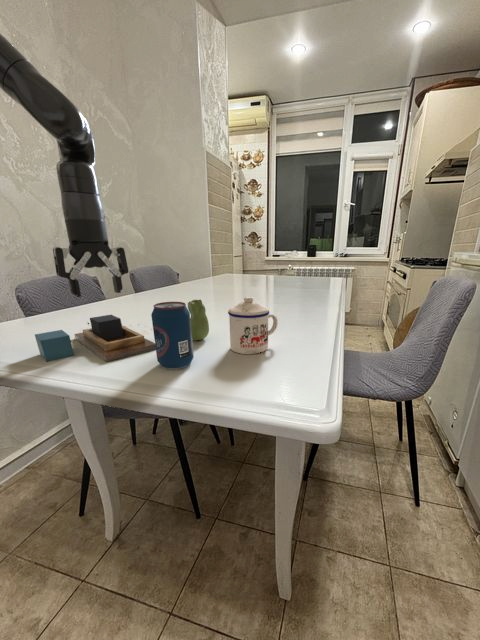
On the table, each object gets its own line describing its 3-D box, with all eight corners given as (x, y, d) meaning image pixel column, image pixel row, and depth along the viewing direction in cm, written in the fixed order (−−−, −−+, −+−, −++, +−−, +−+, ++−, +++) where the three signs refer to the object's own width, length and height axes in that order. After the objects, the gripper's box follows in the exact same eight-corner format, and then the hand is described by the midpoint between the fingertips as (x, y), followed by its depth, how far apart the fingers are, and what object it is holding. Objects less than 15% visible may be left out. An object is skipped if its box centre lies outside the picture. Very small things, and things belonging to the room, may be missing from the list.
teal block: (46, 361, 59) (40, 340, 58) (40, 354, 63) (34, 334, 61) (74, 355, 62) (69, 335, 61) (66, 348, 66) (61, 329, 65)
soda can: (151, 364, 58) (143, 304, 54) (182, 354, 63) (176, 299, 58) (169, 374, 53) (161, 310, 49) (200, 363, 58) (196, 304, 54)
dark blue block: (101, 341, 68) (98, 322, 66) (93, 335, 72) (89, 317, 70) (123, 336, 71) (120, 318, 69) (114, 331, 75) (111, 314, 73)
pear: (212, 340, 72) (210, 300, 68) (191, 344, 69) (187, 302, 66) (205, 335, 76) (202, 296, 73) (185, 338, 74) (181, 298, 70)
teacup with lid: (240, 358, 61) (238, 303, 57) (223, 345, 68) (220, 296, 64) (287, 348, 67) (288, 297, 62) (266, 337, 74) (267, 291, 70)
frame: (106, 362, 59) (103, 349, 58) (75, 338, 73) (72, 328, 72) (157, 348, 66) (155, 337, 65) (119, 329, 81) (118, 320, 80)
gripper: (113, 221, 69) (123, 289, 75) (40, 216, 60) (58, 295, 65) (126, 219, 64) (135, 293, 70) (49, 214, 55) (67, 300, 60)
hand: (98, 294), depth 68 cm, fingers open, 8 cm apart
